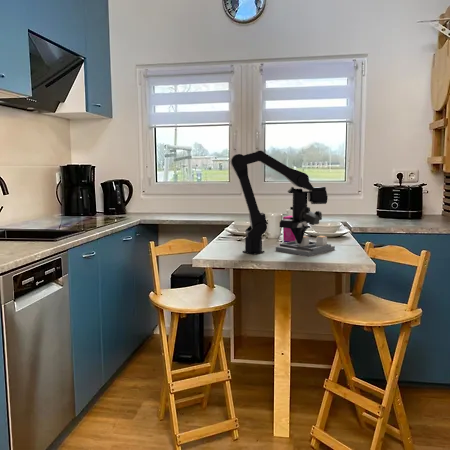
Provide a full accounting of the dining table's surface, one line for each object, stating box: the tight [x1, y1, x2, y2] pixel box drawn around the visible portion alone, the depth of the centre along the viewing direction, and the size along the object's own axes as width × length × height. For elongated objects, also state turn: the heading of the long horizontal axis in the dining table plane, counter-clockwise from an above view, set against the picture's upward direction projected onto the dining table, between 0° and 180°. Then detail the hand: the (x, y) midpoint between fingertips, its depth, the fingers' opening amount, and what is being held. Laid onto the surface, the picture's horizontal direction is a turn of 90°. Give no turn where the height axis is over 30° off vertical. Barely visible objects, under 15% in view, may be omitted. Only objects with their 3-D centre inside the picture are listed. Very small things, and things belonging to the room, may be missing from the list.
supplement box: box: [282, 215, 295, 243], centre depth 204 cm, size 6×6×12 cm
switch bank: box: [275, 240, 336, 257], centre depth 185 cm, size 18×16×2 cm
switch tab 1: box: [298, 235, 310, 247], centre depth 184 cm, size 3×3×4 cm
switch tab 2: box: [315, 235, 328, 247], centre depth 184 cm, size 3×3×4 cm
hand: (299, 243), depth 182 cm, fingers closed
